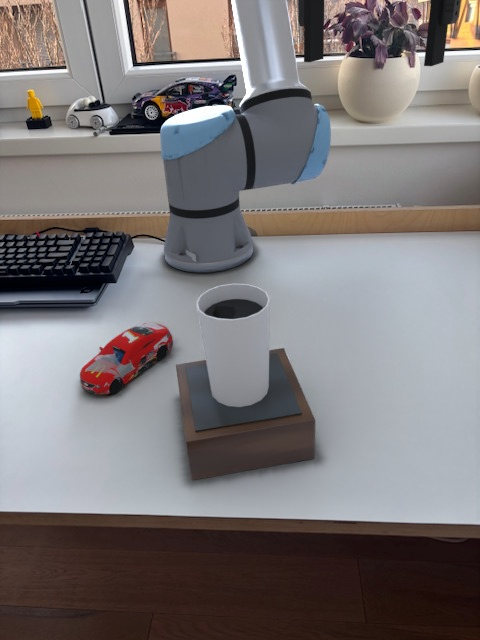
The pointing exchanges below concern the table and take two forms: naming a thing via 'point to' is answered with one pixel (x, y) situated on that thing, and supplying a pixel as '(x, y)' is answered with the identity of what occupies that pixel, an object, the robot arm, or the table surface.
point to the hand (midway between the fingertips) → (369, 62)
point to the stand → (245, 422)
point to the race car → (125, 358)
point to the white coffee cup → (236, 342)
